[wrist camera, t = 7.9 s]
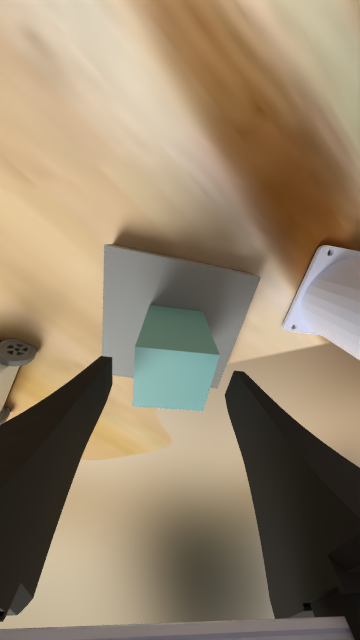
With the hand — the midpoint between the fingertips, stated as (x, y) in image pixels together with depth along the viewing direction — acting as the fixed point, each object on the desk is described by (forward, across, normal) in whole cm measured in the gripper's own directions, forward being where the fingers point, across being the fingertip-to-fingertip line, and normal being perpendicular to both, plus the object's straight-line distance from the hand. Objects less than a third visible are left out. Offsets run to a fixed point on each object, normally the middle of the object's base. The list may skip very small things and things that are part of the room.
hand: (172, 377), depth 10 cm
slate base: (+8, 0, 0) cm, 8 cm away
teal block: (+6, 0, 0) cm, 6 cm away
